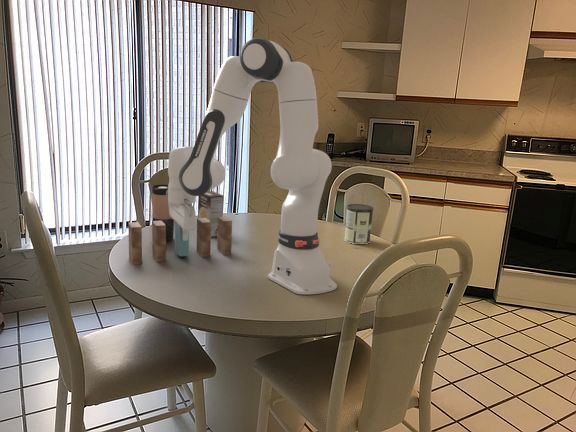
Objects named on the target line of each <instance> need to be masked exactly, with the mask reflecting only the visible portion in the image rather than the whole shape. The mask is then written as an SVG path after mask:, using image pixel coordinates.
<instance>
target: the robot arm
mask: <svg viewBox="0 0 576 432" xmlns="http://www.w3.org/2000/svg"><path fill="white" fill-rule="evenodd" d="M291 55H292V54H290V52H289V51H288V50H287V49H286V48H285V47H282V46H281V45H279V44H278V43H277V42H275V41H272V40H269V39H266V38H264V37H263V38H262V37H256V38H252V39H250V40H248V41H246V43H244V44H243V46H242V47H241V50H240V53H239V56H237V55H233V56H232V55H231V56H229V57H227V58H225V60H224V61H223V62H222V65H221V67H220V69H219V71H218V74H217V76H216V78H215V80H214V84H213V88H212V92H211V94H210V95H211V96H210V98H209V102H208V106H207V109H206V112H205V115H204V118H203V121H202V122H201V125H200V128H199V131H198V134H197V137H196V140H195V142H194V146H191V145H189V146H188V145H186V146H185V145H184V146H180V147H175V148H172V149H171V150H170V152H169V155H168V162H167V165H168V166H167V174H168V175H167V176H168V177H169V180H168V181H169V182H168V184H167V185H168V190H167V192H166V196H167V197H168V206H169V214H170V217H171V218H172V219H173V220H174V223H175V222H176V223H177V224H178V225H179V226H180V227H181V228H182V231H183V233H182V240H184V241H187V240H188V235H189V236H190V231H191V232H192V231H195V230H196V229H197V218H196V217H197V215H196V209H195V206H193V203H196V202H197V200H196V199H197V197H199V196H201V195H203V194H205V193H206V192H207V191H212V190H213V189H215V188H217V187H218V186H219V185H221V184H222V183H224V181H225V178H226V169H225V167H224V165H223V164H222V162H221V161H219V160H218V159H216V158H214V157H215V153H216V150H217V149H218V148H217V147H218V145H219V142H220V140H221V138H222V137H223V135H224V134H225V133H226V132H227V131H228V130H229V129H230V128H231V127H233V126H234V125H236V124H237V123H238V122H239V121H240V120H241V119H242V117H243V114H244V113H245V112H246V109H247V105H248V103H249V99H250V95H251V92H252V91H253V87H254V86H255V84H257V82H260V83H273V84H275V86H276V89H277V97H278V109H279V123H280V124H279V127H280V132H279V141H278V147H277V151H276V156H275V158H274V159H273V161H272V163H271V166H270V177H271V179H272V182H273V183H274V184H275V185H276V186H277V187H278V188H280V189H283V190H288V193H287V196H286V198H285V199H284V201H283V203H282V206H281V213H280V214H281V215H280V229H279V230H278V234H277V235H278V236H277V237H278V239H277V240H278V245H277V248H276V249H275V250H274V251H273V252H274V253H273V259H272V265H271V266H272V267H271V272H269V273H268V274H267V279H269V280H271V281H272V282H275V283H276V284H278V285H280V286H281V287H284V288H285V289H288V290H289V291H291V292H292V293H294V294H296V295H297V294H298V295H319V294H325V293H328V292H332V291H334V290H336V289H338V285H337V283H336V282H335V281H334V280H333V279H332V278H331V277H330V276H331V274H330V273H331V271H330V268H331V264H330V261H329V260H326V259H325V256H324V254H323V253H322V251H321V249H320V243H321V242H320V241H321V239H320V238H319V235H318V231H317V229H318V220H319V219H318V217H319V210H320V209H319V208H320V204H321V200H322V196H323V192H324V190H325V186H326V183H327V180H328V177H329V175H330V174H331V172H332V168H333V166H332V165H333V164H332V161H331V158H330V156H329V155H328V154H327V153H326V152H324V151H323V150H320V149H316V148H313V147H314V143H315V137H316V135H317V132H318V130H319V113H318V99H317V89H316V88H317V87H316V84H315V83H316V82H315V78H314V74H313V70H312V69H311V66H310V65H308V64H307V63H305V62H301V61H293V58H292V56H291Z"/></svg>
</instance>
